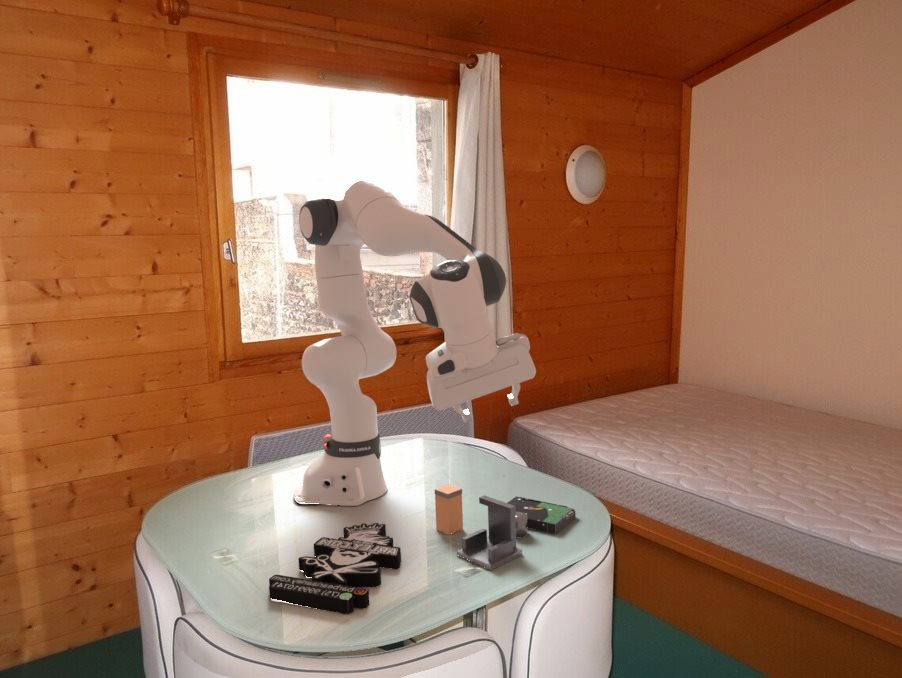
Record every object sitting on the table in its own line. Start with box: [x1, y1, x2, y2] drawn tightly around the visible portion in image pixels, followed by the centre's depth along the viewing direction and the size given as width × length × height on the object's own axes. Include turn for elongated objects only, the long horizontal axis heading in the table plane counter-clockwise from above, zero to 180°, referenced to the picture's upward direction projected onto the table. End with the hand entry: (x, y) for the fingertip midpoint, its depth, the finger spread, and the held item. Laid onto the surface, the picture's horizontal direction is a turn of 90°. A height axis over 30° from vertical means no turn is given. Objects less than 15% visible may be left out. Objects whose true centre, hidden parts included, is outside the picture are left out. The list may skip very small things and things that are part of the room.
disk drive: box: [506, 496, 577, 535], centre depth 155 cm, size 10×3×15 cm
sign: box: [268, 522, 402, 615], centre depth 135 cm, size 19×3×30 cm
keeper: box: [456, 495, 523, 571], centre depth 138 cm, size 9×10×10 cm
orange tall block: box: [434, 484, 464, 535], centre depth 150 cm, size 4×4×9 cm
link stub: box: [516, 512, 528, 538], centre depth 147 cm, size 4×4×4 cm
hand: (490, 412), depth 134 cm, fingers open, 8 cm apart
